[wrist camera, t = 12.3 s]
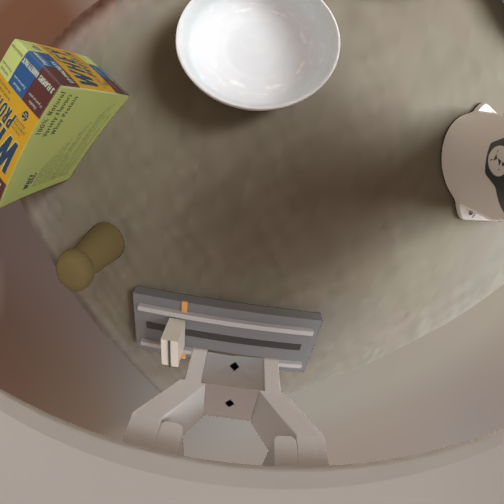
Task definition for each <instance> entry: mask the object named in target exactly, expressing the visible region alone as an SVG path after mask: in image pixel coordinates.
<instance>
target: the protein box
mask: <svg viewBox="0 0 504 504" xmlns="http://www.w3.org/2000/svg"><path fill="white" fill-rule="evenodd" d="M128 98H129V95H128V94H127V93H126V92H125V91H124V90H123V89H122V88H121V87H120V86H118V85H117V84H116V83H115V82H114V81H113V80H112V79H111V78H110V77H109V76H108V75H107V74H106V73H105V72H104V71H103V70H102V69H101V68H99V67H98V66H97V65H96V64H95V63H94V62H93V61H92V60H91V59H90V58H89V57H87V56H83V55H80V54H76V53H73V52H69V51H65V50H61V49H57V48H54V47H50V46H45V45H41V44H36V43H32V42H28V41H23V40H18V39H15V40H14V41H13V43H12V44H11V46H10V47H9V49H8V50H7V52H6V54H5V56H4V58H3V59H2V61H1V63H0V208H1V207H3V206H5V205H7V204H9V203H11V202H14V201H15V200H18V199H20V198H23V197H25V196H27V195H30V194H32V193H34V192H37V191H39V190H42V189H44V188H47V187H49V186H52V185H54V184H57V183H60V182H63V181H65V180H68V179H69V178H70V177H71V175H72V173H73V172H74V170H75V169H76V167H77V166H78V164H79V163H80V161H81V160H82V158H83V157H84V155H85V154H86V152H87V151H88V149H89V148H90V147H91V145H92V144H93V142H94V141H95V140H96V138H97V137H98V136H99V134H100V133H101V131H102V130H103V129H104V128H105V126H106V125H107V124H108V122H109V121H110V120H111V118H112V117H113V116H114V115H115V114H116V112H117V111H118V110H119V109H120V107H121V106H122V105H123V104H124V103H125V101H126V100H127V99H128Z"/></svg>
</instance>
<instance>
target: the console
mask: <svg viewBox="0 0 504 504" xmlns="http://www.w3.org/2000/svg"><path fill="white" fill-rule="evenodd" d="M182 301H188V307H187V313H185V312H181V311H182ZM133 303H134V316H135V328H136V338H137V347H138V348H143V349H147V350H152V351H156V352H161V337H162V334H163V332H164V330H165V327H166V325H167V322H168V320H169V318H175V319H181V320H185V346H184V349H183V352H182V353H184V354H186V357H187V358H190V356H191V353H192V349H193V348H194V347H196V348H201V349H207V350H214V351H220V352H225V353H232V354H239V355H247V356H256V357H267V358H277V359H278V363H279V370H285V371H297V372H304V370H305V367H306V365H307V362H308V360H309V357H310V354H311V352H312V349H313V346H314V343H315V341H316V338H317V335H318V332H319V329H320V327H321V324H322V317H321V314H320V313H316V312H307V311H298V310H290V309H282V308H274V307H266V306H259V305H251V304H244V303H237V302H230V301H224V300H217V299H211V298H204V297H198V296H192V295H186V294H180V293H174V292H168V291H163V290H157V289H152V288H146V287H141V286H137V287H136V289H135V290H134V292H133Z"/></svg>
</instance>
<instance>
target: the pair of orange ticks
mask: <svg viewBox="0 0 504 504" xmlns="http://www.w3.org/2000/svg"><path fill="white" fill-rule="evenodd" d="M187 307H188V301H182V311H181V312H185V313H187ZM181 359H186V354H184V353H182V355H181Z"/></svg>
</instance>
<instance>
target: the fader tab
mask: <svg viewBox="0 0 504 504" xmlns="http://www.w3.org/2000/svg"><path fill="white" fill-rule="evenodd" d="M184 346H185V320H181V319H175V318H169V320H168V322H167V325H166V327H165V330H164V332H163V334H162V337H161V355H162V364H164V365H169V367H171V366H174V367H178V366H179V362H180V359H181V355H182V352H183V349H184Z"/></svg>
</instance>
